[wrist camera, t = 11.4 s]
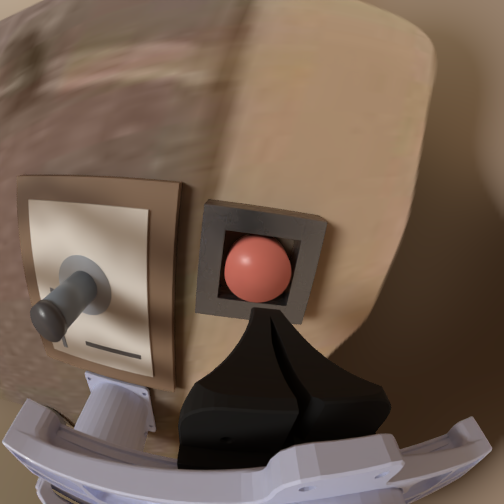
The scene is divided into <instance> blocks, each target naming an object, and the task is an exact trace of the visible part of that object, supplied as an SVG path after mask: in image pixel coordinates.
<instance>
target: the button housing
mask: <svg viewBox="0 0 504 504" xmlns="http://www.w3.org/2000/svg"><path fill="white" fill-rule="evenodd" d="M326 227H327V222H326V221H325V220H324V219H323V218H322V217H320V216H318V215H313V214H307V213H301V212H295V211H289V210H282V209H276V208H269V207H263V206H256V205H249V204H242V203H235V202H227V201H219V200H211V199H208V200H207V202H206V203H205V204H204V213H203V223H202V232H201V243H200V254H199V265H198V278H197V292H196V308H195V313H201V314H208V315H215V316H223V317H231V318H239V319H248V320H249V318H250V312H251V309H252V308H253V307H258V308H267V309H277V310H281V312H282V313H283V314H284V315H285V317H286V318H287V319H288V320H289V322H290V323H291V324H302V320H303V317H304V313H305V310H306V306H307V303H308V299H309V295H310V292H311V288H312V284H313V280H314V276H315V273H316V269H317V265H318V261H319V257H320V252H321V248H322V244H323V240H324V235H325V231H326ZM226 230H229V231H237V232H244V233H251V234H258V235H266V236H273V237H280V238H287V239H294V244H293V249H292V253H291V258H290V265H291V278H290V281H289V284H288V286H287V287H286V289H285V290H284V291H283V293H281V294H280V295H279V296H277V297H276V298H274V299H272V300H269V301H266V302H259V303H256V302H249V301H245V300H243V299H241V298H239V297H237V296H236V295H235V294H234V293H233V292H232V291H231V290H230V289H229V287H228V286H220V285H219V284H220V276H221V267H222V259H223V250H224V242H225V234H226Z"/></svg>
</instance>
